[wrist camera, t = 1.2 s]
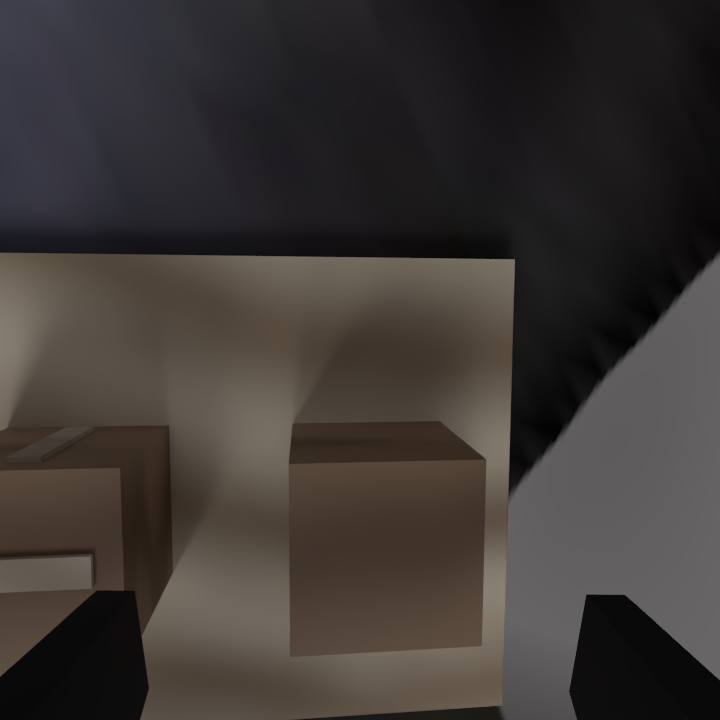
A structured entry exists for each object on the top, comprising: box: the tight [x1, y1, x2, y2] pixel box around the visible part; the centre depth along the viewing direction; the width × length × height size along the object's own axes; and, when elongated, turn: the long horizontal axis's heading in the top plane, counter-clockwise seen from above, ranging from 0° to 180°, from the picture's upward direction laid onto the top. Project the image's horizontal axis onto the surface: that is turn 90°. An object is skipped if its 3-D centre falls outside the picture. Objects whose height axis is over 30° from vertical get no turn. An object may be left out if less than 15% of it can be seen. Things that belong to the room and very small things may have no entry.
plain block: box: [289, 421, 486, 657], centre depth 17 cm, size 5×5×5 cm
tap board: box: [0, 253, 515, 720], centre depth 19 cm, size 16×28×1 cm, turn 90°
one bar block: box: [0, 425, 173, 673], centre depth 16 cm, size 5×5×5 cm
